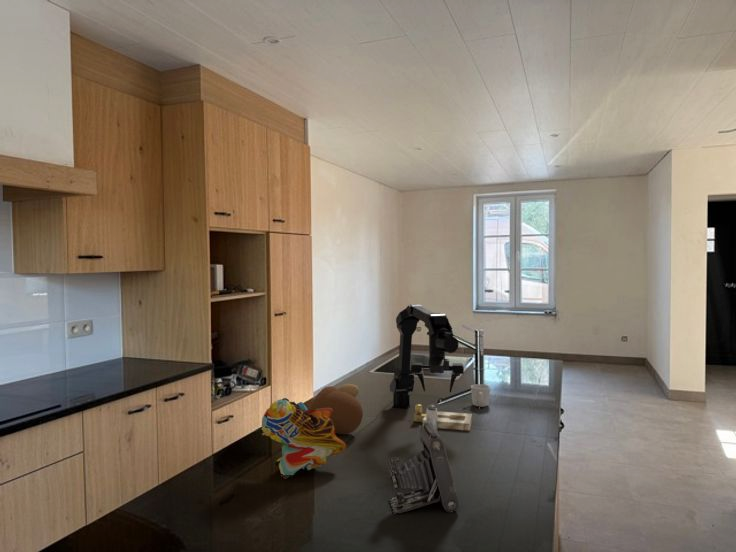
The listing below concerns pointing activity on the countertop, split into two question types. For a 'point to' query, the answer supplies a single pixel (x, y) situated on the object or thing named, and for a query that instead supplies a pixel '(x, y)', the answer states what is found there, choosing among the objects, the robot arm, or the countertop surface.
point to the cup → (480, 395)
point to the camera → (424, 476)
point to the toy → (340, 407)
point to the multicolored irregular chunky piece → (301, 435)
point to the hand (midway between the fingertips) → (437, 391)
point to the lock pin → (418, 413)
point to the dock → (453, 420)
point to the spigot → (432, 416)
